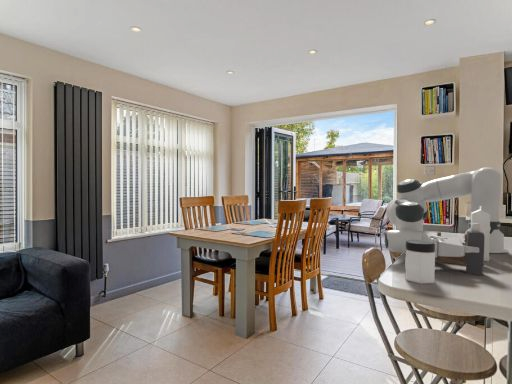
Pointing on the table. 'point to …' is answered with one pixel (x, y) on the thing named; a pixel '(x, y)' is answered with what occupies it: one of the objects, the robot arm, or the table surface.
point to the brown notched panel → (453, 259)
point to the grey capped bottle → (474, 259)
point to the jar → (420, 261)
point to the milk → (483, 228)
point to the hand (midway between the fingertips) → (478, 248)
